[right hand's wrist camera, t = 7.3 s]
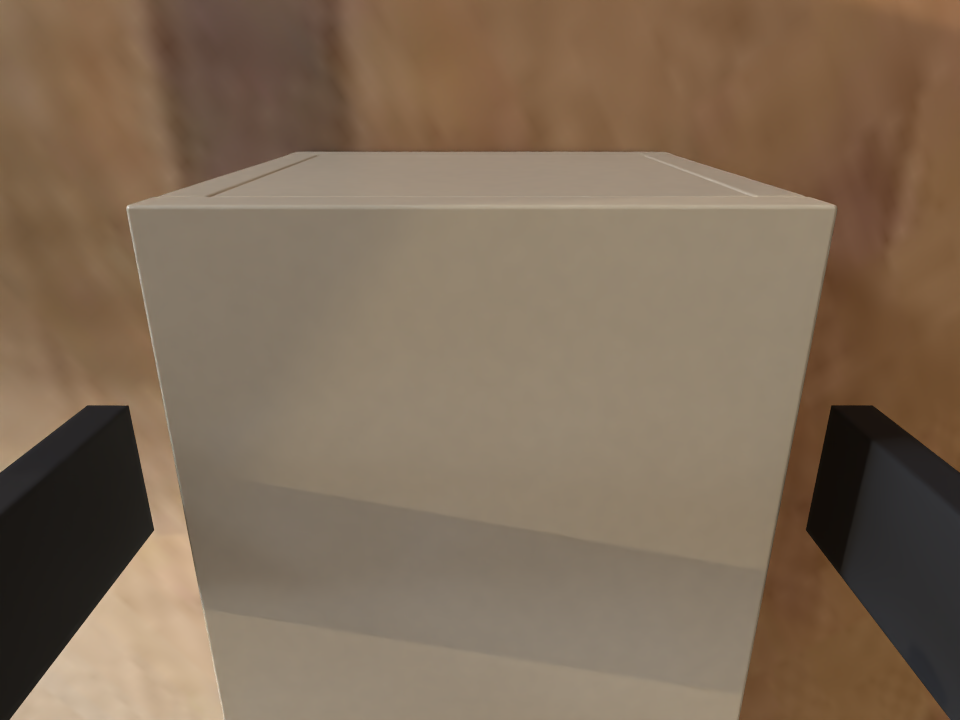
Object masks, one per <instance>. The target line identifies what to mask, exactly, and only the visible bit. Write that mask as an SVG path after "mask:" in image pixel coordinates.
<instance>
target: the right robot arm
mask: <svg viewBox="0 0 960 720" xmlns="http://www.w3.org/2000/svg"><path fill="white" fill-rule="evenodd" d="M153 531H154V527H153V522H152V517H151V512H150V508H149V503H148V498H147V493H146V488H145V483H144V478H143V473H142V469H141V464H140V459H139V454H138V449H137V444H136V439H135V435H134V430H133V425H132V420H131V415H130V410H129V406H86V407H85V408H84V409H82V410H81V411H80V412H78V413H77V414H76V415H75V416H73V417H72V418H71V419H69V420H68V421H67V422H65V423H64V424H63V425H62V426H60V427H59V428H58V429H56V430H55V431H54V432H53V433H51V434H50V435H49V436H47V437H46V438H45V439H43V440H42V441H41V442H40V443H38V444H37V445H36V446H34V447H33V448H32V449H30V450H29V451H28V452H27V453H25V454H24V455H23V456H21V457H20V458H19V459H18V460H16V461H15V462H14V463H12V464H11V465H10V466H8V467H7V468H6V469H5V470H3V471H2V472H1V473H0V720H10V718H11V717H12V716H13V714H14V713H15V712H16V711H17V709H18V708H19V707H20V705H21V704H22V703H23V701H24V700H25V699H26V697H27V696H28V695H29V693H30V692H31V691H32V690H33V688H34V687H35V686H36V684H37V683H38V682H39V680H40V679H41V678H42V676H43V675H44V674H45V672H46V671H47V670H48V669H49V667H50V666H51V665H52V663H53V662H54V661H55V659H56V658H57V657H58V655H59V654H60V653H61V652H62V650H63V649H64V648H65V646H66V645H67V644H68V642H69V641H70V640H71V638H72V637H73V636H74V634H75V633H76V632H77V631H78V629H79V628H80V627H81V625H82V624H83V623H84V621H85V620H86V619H87V617H88V616H89V615H90V613H91V612H92V611H93V610H94V608H95V607H96V606H97V604H98V603H99V602H100V600H101V599H102V598H103V596H104V595H105V594H106V593H107V591H108V590H109V589H110V587H111V586H112V585H113V583H114V582H115V581H116V579H117V578H118V577H119V575H120V574H121V573H122V572H123V570H124V569H125V568H126V566H127V565H128V564H129V562H130V561H131V560H132V558H133V557H134V556H135V554H136V553H137V552H138V551H139V549H140V548H141V547H142V545H143V544H144V543H145V541H146V540H147V539H148V537H149V536H150V535H151V534H152V532H153ZM806 531H807V532H808V534H809V535H810V536H811V537H812V539H813V540H814V541H815V543H816V544H817V545H818V547H819V548H820V549H821V551H822V552H823V553H824V554H825V556H826V557H827V558H828V560H829V561H830V562H831V564H832V565H833V566H834V568H835V569H836V570H837V572H838V573H839V574H840V575H841V577H842V578H843V579H844V581H845V582H846V583H847V585H848V586H849V587H850V589H851V590H852V591H853V593H854V594H855V595H856V596H857V598H858V599H859V600H860V602H861V603H862V604H863V606H864V607H865V608H866V610H867V611H868V612H869V613H870V615H871V616H872V617H873V619H874V620H875V621H876V623H877V624H878V625H879V627H880V628H881V629H882V631H883V632H884V633H885V634H886V636H887V637H888V638H889V640H890V641H891V642H892V644H893V645H894V646H895V648H896V649H897V650H898V652H899V653H900V654H901V655H902V657H903V658H904V659H905V661H906V662H907V663H908V665H909V666H910V667H911V669H912V670H913V671H914V672H915V674H916V675H917V676H918V678H919V679H920V680H921V682H922V683H923V684H924V686H925V687H926V688H927V690H928V691H929V692H930V693H931V695H932V696H933V697H934V699H935V700H936V701H937V703H938V704H939V705H940V707H941V708H942V709H943V711H944V712H945V713H946V714H947V716H948V717H949V718H950V720H960V473H959V472H958V471H957V470H955V469H954V468H953V467H952V466H950V465H949V464H948V463H946V462H945V461H944V460H942V459H941V458H940V457H939V456H937V455H936V454H935V453H933V452H932V451H931V450H930V449H928V448H927V447H926V446H924V445H923V444H922V443H920V442H919V441H918V440H917V439H915V438H914V437H913V436H911V435H910V434H909V433H907V432H906V431H905V430H904V429H902V428H901V427H900V426H898V425H897V424H896V423H895V422H893V421H892V420H891V419H889V418H888V417H887V416H885V415H884V414H883V413H882V412H880V411H879V410H878V409H876V408H875V407H874V406H831V410H830V415H829V420H828V425H827V430H826V435H825V439H824V444H823V449H822V454H821V459H820V464H819V469H818V473H817V478H816V483H815V488H814V493H813V498H812V503H811V508H810V512H809V517H808V522H807V527H806Z"/></svg>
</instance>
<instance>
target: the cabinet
mask: <svg viewBox="0 0 960 720" xmlns="http://www.w3.org/2000/svg"><path fill="white" fill-rule="evenodd" d="M126 210H127V216H128V221H129V226H130V231H131V236H132V242H133V247H134V252H135V257H136V263H137V268H138V273H139V278H140V284H141V289H142V294H143V299H144V304H145V310H146V315H147V320H148V325H149V331H150V336H151V341H152V346H153V352H154V357H155V362H156V367H157V372H158V378H159V383H160V388H161V393H162V399H163V404H164V409H165V414H166V420H167V425H168V430H169V435H170V440H171V446H172V451H173V456H174V461H175V467H176V472H177V477H178V482H179V488H180V493H181V498H182V503H183V508H184V514H185V519H186V524H187V529H188V535H189V540H190V545H191V550H192V556H193V561H194V566H195V571H196V576H197V582H198V587H199V592H200V597H201V603H202V608H203V613H204V618H205V624H206V629H207V634H208V639H209V644H210V650H211V655H212V660H213V665H214V671H215V676H216V681H217V686H218V692H219V697H220V702H221V707H222V712H223V718H224V720H739V716H740V711H741V706H742V701H743V695H744V690H745V685H746V680H747V675H748V669H749V664H750V659H751V654H752V649H753V644H754V638H755V633H756V628H757V623H758V618H759V613H760V607H761V602H762V597H763V592H764V587H765V581H766V576H767V571H768V566H769V561H770V556H771V550H772V545H773V540H774V535H775V530H776V525H777V519H778V514H779V509H780V504H781V499H782V493H783V488H784V483H785V478H786V473H787V468H788V462H789V457H790V452H791V447H792V442H793V437H794V431H795V426H796V421H797V416H798V411H799V405H800V400H801V395H802V390H803V385H804V380H805V374H806V369H807V364H808V359H809V354H810V349H811V343H812V338H813V333H814V328H815V323H816V317H817V312H818V307H819V302H820V297H821V292H822V286H823V281H824V276H825V271H826V266H827V260H828V255H829V250H830V245H831V240H832V235H833V229H834V224H835V219H836V214H837V206H836V205H834V204H831V203H827V202H824V201H821V200H818V199H815V198H811V197H805V196H803V195H800V194H797V193H794V192H790V191H787V190H784V189H781V188H778V187H774V186H771V185H768V184H765V183H762V182H758V181H755V180H752V179H749V178H746V177H743V176H739V175H736V174H733V173H730V172H727V171H723V170H720V169H717V168H714V167H711V166H707V165H704V164H701V163H698V162H695V161H691V160H688V159H685V158H682V157H679V156H675V155H673V154H670V153H667V152H295V153H291V154H289V155H287V156H284V157H280V158H277V159H274V160H271V161H268V162H265V163H262V164H258V165H255V166H252V167H249V168H246V169H243V170H239V171H236V172H233V173H230V174H227V175H224V176H221V177H217V178H214V179H211V180H208V181H205V182H202V183H198V184H195V185H192V186H189V187H186V188H183V189H180V190H176V191H173V192H170V193H167V194H164V195H161V196H158V197H152V198H149V199H146V200H143V201H139V202H136V203H133V204H130V205H128V206H127V209H126Z"/></svg>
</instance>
